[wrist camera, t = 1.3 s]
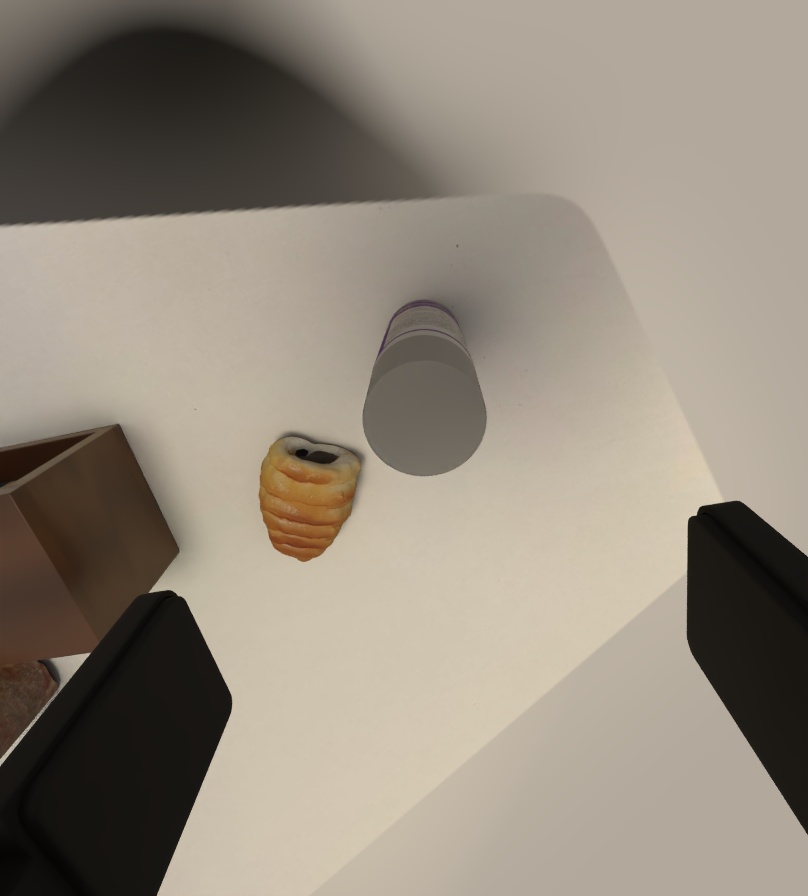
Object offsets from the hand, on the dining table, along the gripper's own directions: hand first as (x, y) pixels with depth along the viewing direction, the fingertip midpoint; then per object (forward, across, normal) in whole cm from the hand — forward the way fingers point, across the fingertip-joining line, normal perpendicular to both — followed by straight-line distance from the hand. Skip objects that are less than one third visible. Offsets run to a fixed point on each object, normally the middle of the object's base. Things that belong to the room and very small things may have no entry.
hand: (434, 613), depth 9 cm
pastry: (+25, +10, +8) cm, 28 cm away
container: (+24, 0, -1) cm, 25 cm away
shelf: (+24, +29, +6) cm, 39 cm away
